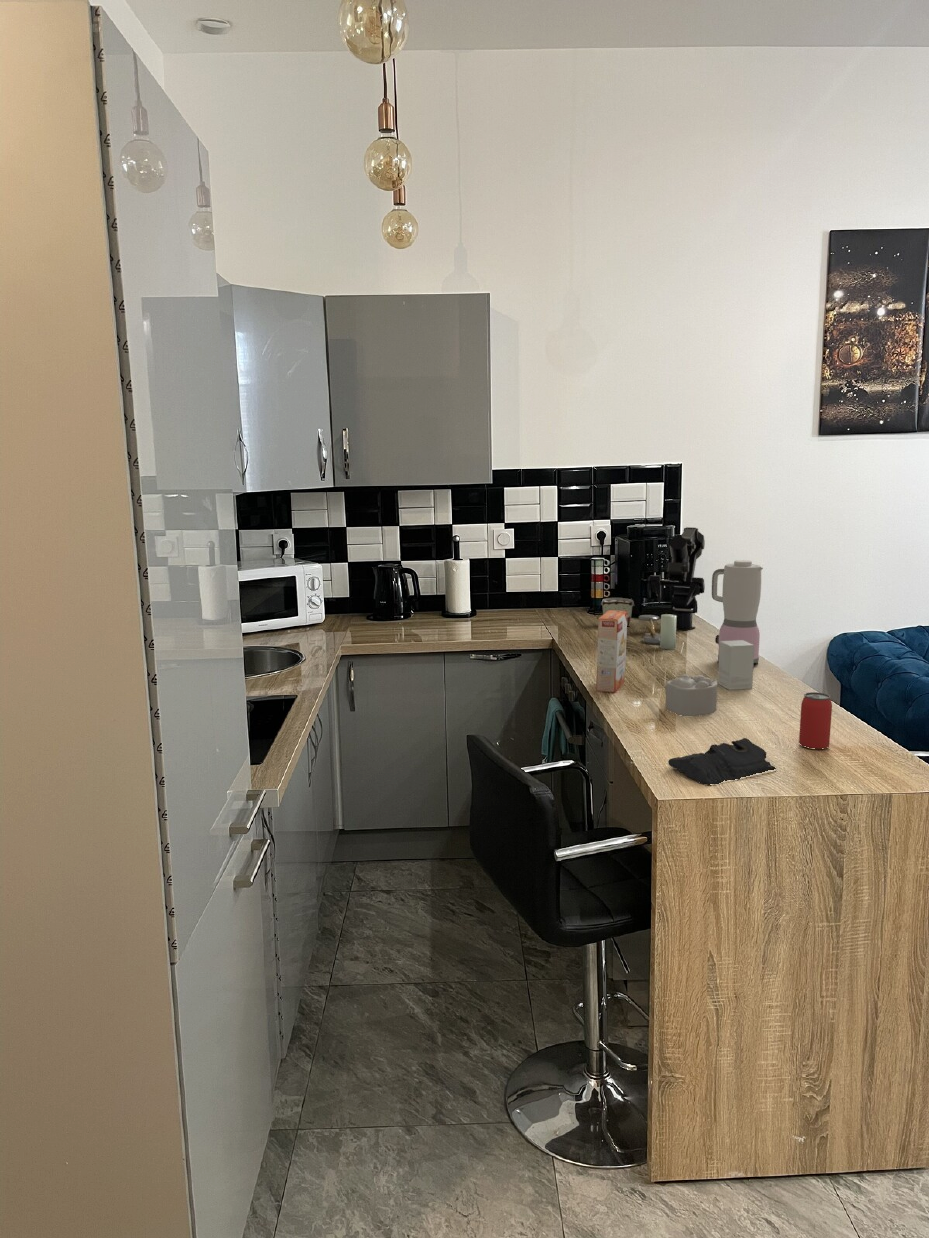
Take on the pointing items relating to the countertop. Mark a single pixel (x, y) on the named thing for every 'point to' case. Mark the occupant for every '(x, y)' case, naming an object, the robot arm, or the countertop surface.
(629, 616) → the food container
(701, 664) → the countertop surface
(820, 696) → the beer can
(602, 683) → the cracker box
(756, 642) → the blender
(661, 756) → the countertop surface
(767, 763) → the folded black cloth
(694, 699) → the lumpy-topped squat cylinder
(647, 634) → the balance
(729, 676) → the supplement box
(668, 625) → the sage green rounded block
